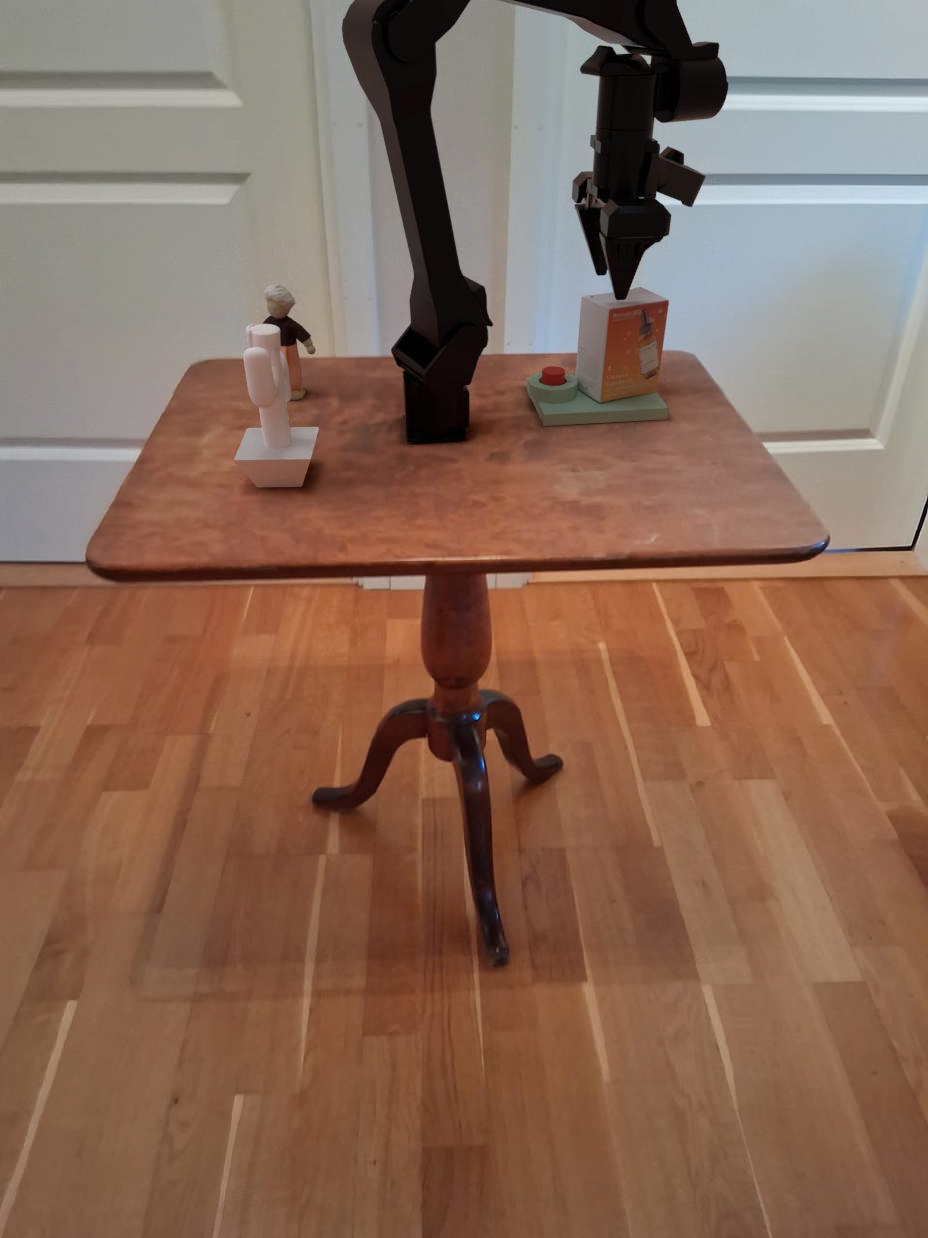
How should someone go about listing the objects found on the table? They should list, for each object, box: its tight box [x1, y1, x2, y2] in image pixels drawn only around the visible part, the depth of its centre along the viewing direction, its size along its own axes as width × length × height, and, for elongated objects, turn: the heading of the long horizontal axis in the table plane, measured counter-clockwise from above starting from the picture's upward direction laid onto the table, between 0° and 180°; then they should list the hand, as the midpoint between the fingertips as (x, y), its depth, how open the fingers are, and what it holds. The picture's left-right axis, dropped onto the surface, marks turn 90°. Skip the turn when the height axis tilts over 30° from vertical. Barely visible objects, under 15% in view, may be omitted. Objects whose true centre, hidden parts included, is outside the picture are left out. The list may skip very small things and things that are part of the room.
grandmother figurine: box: [261, 284, 317, 401], centre depth 102 cm, size 8×4×13 cm, turn 77°
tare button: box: [541, 365, 566, 386], centre depth 101 cm, size 3×3×2 cm
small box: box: [574, 286, 670, 403], centre depth 100 cm, size 8×6×10 cm
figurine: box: [233, 323, 320, 488], centre depth 85 cm, size 7×9×15 cm
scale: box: [525, 371, 669, 427], centre depth 103 cm, size 15×11×3 cm
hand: (610, 286), depth 99 cm, fingers open, 9 cm apart
